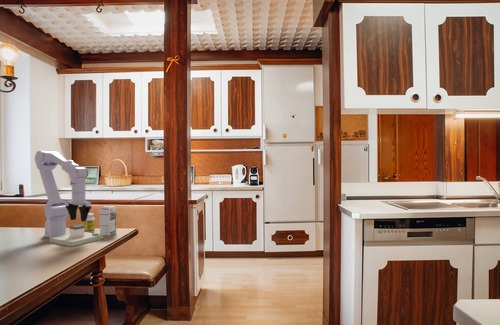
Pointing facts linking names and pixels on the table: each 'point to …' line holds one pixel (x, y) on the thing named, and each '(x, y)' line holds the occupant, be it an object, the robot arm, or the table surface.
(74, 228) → the plug
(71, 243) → the socket block
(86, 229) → the supplement bottle
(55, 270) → the table surface
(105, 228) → the syrup box
